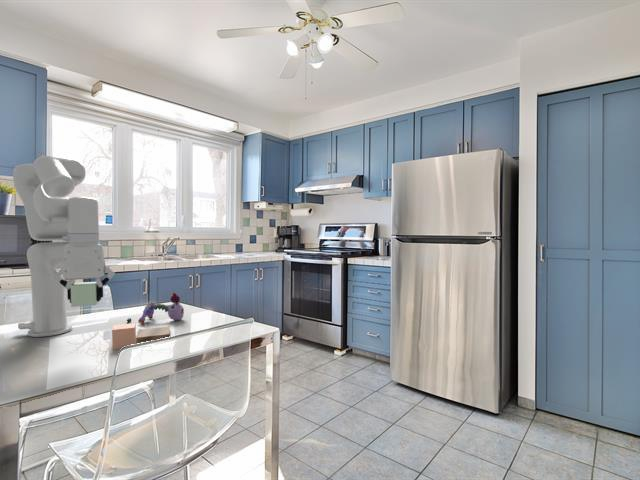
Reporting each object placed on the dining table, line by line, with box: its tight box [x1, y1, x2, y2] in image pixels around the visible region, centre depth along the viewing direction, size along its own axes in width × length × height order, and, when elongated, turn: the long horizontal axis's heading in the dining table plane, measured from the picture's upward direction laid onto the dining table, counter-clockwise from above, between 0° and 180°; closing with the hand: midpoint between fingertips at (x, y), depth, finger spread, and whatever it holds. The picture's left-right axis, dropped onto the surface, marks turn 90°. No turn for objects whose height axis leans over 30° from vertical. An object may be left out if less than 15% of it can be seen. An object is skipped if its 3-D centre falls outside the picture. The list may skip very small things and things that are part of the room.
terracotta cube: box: [111, 322, 137, 350], centre depth 114 cm, size 6×6×6 cm
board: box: [136, 326, 171, 343], centre depth 123 cm, size 10×10×2 cm
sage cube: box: [70, 281, 100, 308], centre depth 107 cm, size 6×6×6 cm
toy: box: [138, 292, 185, 325], centre depth 143 cm, size 10×15×15 cm
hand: (85, 300), depth 107 cm, fingers closed on sage cube, 6 cm apart
